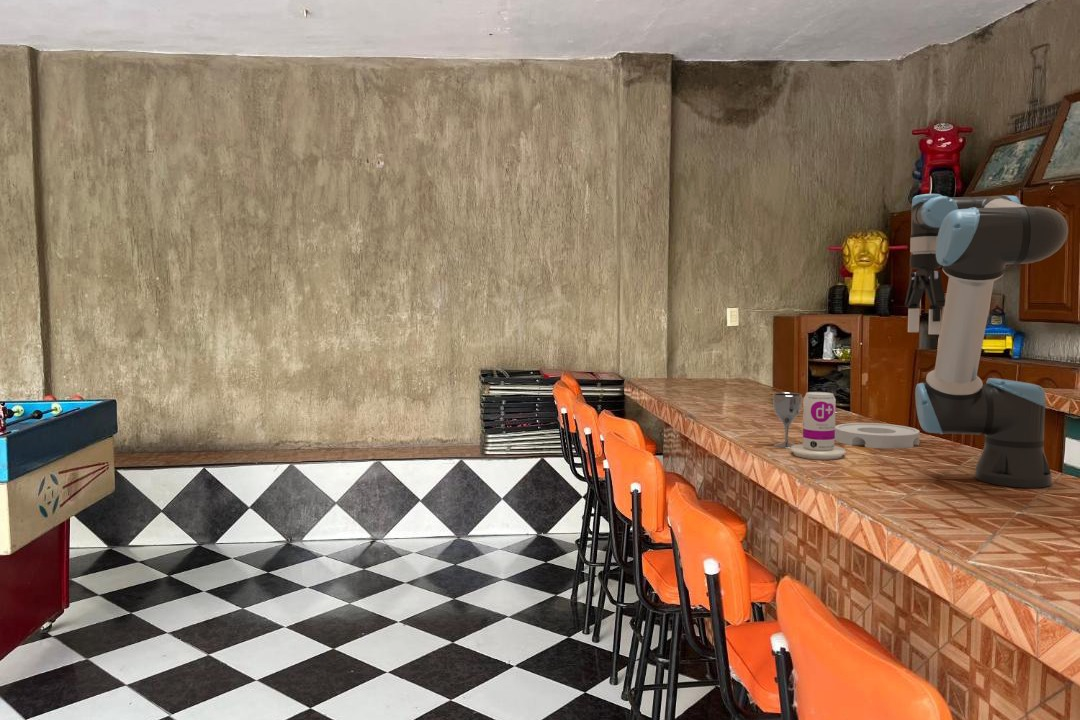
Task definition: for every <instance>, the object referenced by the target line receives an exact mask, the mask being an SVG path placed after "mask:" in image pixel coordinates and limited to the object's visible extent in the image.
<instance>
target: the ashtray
mask: <svg viewBox="0 0 1080 720" xmlns="http://www.w3.org/2000/svg"><path fill="white" fill-rule="evenodd" d="M920 436H921V435H920V430H919V429H917V428H914V427H910V426H905V425H898V424H892V423H891V424H890V423H877V422H876V423H875V422H852V423H851V422H850V423H842V424H841V423H840V424H837V425H835V441H836V442H838V443H840V444H843V445H847V446H864V447H865V448H868V449H869V448H871V449H886V450H887V449H888V450H889V449H893V450H894V449H895V450H896V449H909V448H910V449H911V448H914V446H919V445H920Z"/></svg>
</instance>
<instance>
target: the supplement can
mask: <svg viewBox="0 0 1080 720" xmlns="http://www.w3.org/2000/svg"><path fill="white" fill-rule="evenodd" d="M836 401H837V399H836V397H835V395H834V393H833V392H828V391H827V392H825V391H808V392H806V393H805V395H804V397H803V398H802V403H803V404H802V405H803V406H802V408H803V409H802V444H803V446H804V447H805V449H808V450H813V451H830V450H832V449H833V448H834V447H835V446H836V445H835V443H836V442H835V441H836V440H835V426H836V407H837V406H836Z"/></svg>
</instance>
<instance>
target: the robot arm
mask: <svg viewBox="0 0 1080 720" xmlns="http://www.w3.org/2000/svg"><path fill="white" fill-rule="evenodd" d="M910 213H911V220H910V222H911V225H910V226H911V228H910V239H909V240H910V242H909V243H910V246H909V249H910V250H909V251H910V253H912V254H911V255H910V256H909V257H910V258H909V267H910V268H911V269H912V270H916V271H915V272H910V277H909V282H908V283H909V284H908V287H907V292H906V296H905V302H904V306H905V307H907V309H908V311H907V313H908V314H907V333H919V332H920V310H921V308H922V307H921V306H920V303H921V299H923V298H922V297H923V294H924V291H925V294H926V298H927V300H928V303H929V306H928V308H927V309H928V333H927V334H928V335H939V338H938V339H939V340H938V346H937V353H936V359H935V366H934V369H933V370H931V371H929V372H928V373H927V374H926V376H925V377H926V378H925V382H920V383H917V384H916V386H915V391H914V395H915V397H914V398H915V399H914V400H915V407H916V408H915V410H916V414H917V420H918V422H919V425H920V427H921V429H922V430H923V432H924V431H925V433H930V434H940V435H944V434H947V435H950V434H952V435H978V436H979V435H980V436H981V435H984V446H983V448H982V452H981V453H980V456H979V459H978V461H977V463H976V466H975V470H974V471H975V473H974V477H975V479H977V480H978V481H980V482H984V483H989V484H993V485H997V486H1005V487H1011V488H1023V489H1024V488H1027V489H1029V488H1031V489H1032V488H1033V489H1035V488H1036V489H1037V488H1039V489H1040V488H1046V487H1049V486H1052V476H1053V475H1052V471H1051V469H1050V467H1049V462H1048V460H1047V457H1046V453H1045V449H1044V444H1045V443H1044V442H1045V423H1046V419H1045V418H1046V408H1047V403H1046V391H1045V389H1044V388H1043V387H1042V386H1040V385H1038V384H1035V383H1029V382H1024V381H1018V380H1012V379H1003V378H994V377H988V378H987V380H986V381H985V383H986V384H983V380H982V379H981V378H980V377H979V376H978V369H979V366H980V365H979V364H980V359H981V354H982V348H983V344H984V337H985V332H986V327H987V322H988V321H987V320H988V316H989V311H990V310H989V309H990V304H991V298H992V294H993V290H994V282H995V281H997V280H999V279H1000V278H1002V277H1003V276H1004V274H1005V270H1006V265H1021V264H1022V265H1024V264H1025V265H1026V264H1033V263H1036V262H1040V261H1043V260H1045V259H1047V258H1049V257H1051V256H1052V255H1054V254H1055V253H1057V252H1058V251H1059V250H1060V249H1061V248H1062V247H1063V245H1064V244H1065V243H1066V241H1067V238H1068V235H1069V234H1068V233H1069V226H1068V222H1067V220H1066V218H1065V216H1063V215H1062V214H1061V213H1060V212H1058V211H1057V210H1055V209H1053V208H1050V207H1046V206H1027V205H1024V204H1021V201H1020V199H1019V196H1016V195H1006V194H1005V195H1004V194H1000V195H992V196H991V195H990V196H988V195H987V196H959V197H957V196H956V197H954V196H953V197H952V196H951V197H949V196H947V195H942V194H940V193H924V194H919V195H918V194H917V195H915V196H914V197H912V200H911V207H910ZM941 267H942V269H941V270H942V271H943V273H944V274H945V275H946V276H947V277H948V281H947V286H946V287H947V288H946V293H945V291H944V287H943V283H942V282H943V280H942V272H941V270H935V269H940V268H941ZM943 307H944V308H943ZM942 310H943V314H942ZM941 317H942V318H941Z"/></svg>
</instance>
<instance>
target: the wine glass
mask: <svg viewBox="0 0 1080 720" xmlns="http://www.w3.org/2000/svg"><path fill="white" fill-rule="evenodd" d="M802 403H803V394H801V393H798V392H783V391H782V392H773V394H772V404H773V410H774V413H775V415H776V416H777V418H778V419H779V420H780V421H781V423H782V425H783V427H784V432H785V433H784V437H785V439H784V441H782V442H779V443H775V444H773V446H774V447H776V448H782V449H791V446H793V445H796V444H795V443H791V442H789V431H790V426H791V425H792V423H793V421H794V420H796V418H797V417H798V416H799V414H800V412H801V409H802V405H803V404H802Z"/></svg>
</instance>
